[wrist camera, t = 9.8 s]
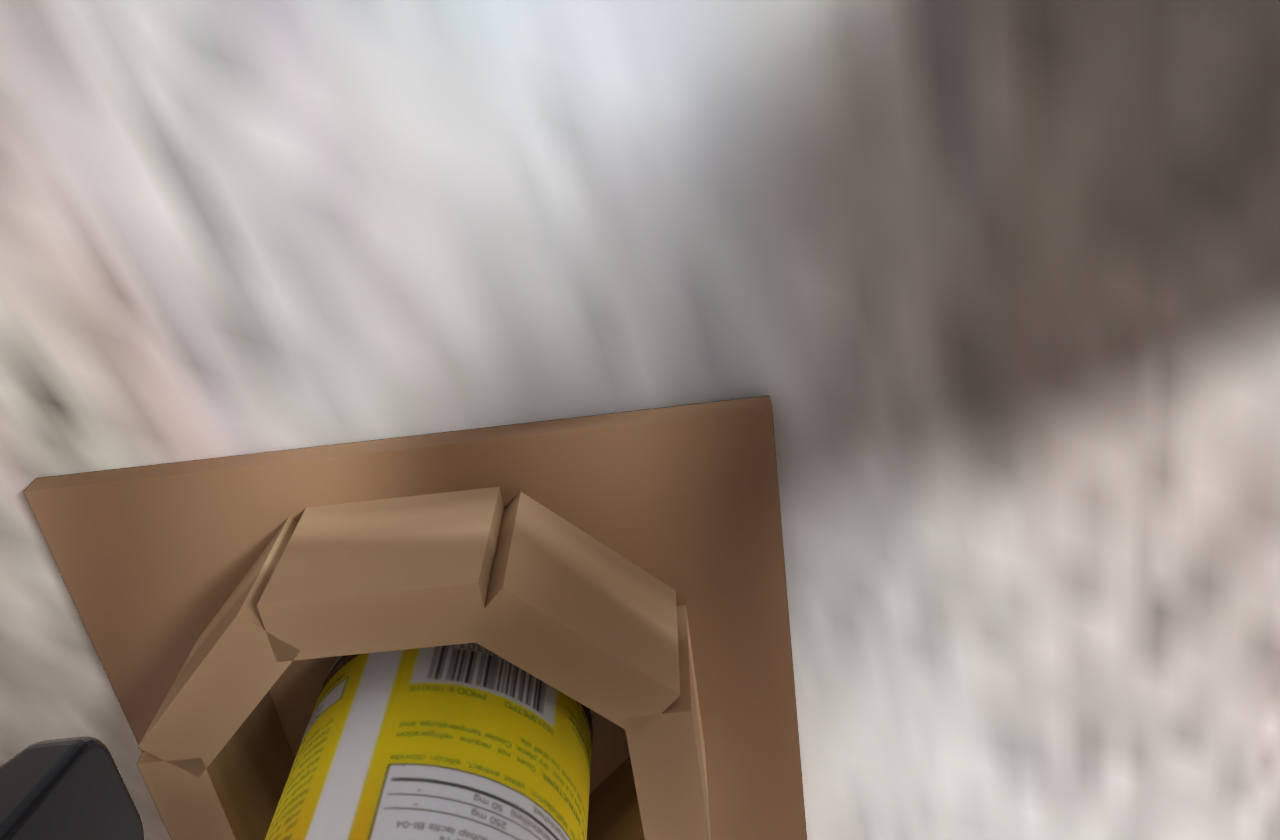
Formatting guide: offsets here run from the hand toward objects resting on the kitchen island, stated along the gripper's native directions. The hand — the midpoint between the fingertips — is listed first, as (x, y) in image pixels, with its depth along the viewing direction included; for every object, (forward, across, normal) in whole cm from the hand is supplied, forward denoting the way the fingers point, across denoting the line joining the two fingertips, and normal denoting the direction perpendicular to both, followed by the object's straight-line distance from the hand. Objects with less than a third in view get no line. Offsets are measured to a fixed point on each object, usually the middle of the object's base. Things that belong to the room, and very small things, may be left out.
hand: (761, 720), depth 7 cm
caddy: (+12, +6, +10) cm, 17 cm away
